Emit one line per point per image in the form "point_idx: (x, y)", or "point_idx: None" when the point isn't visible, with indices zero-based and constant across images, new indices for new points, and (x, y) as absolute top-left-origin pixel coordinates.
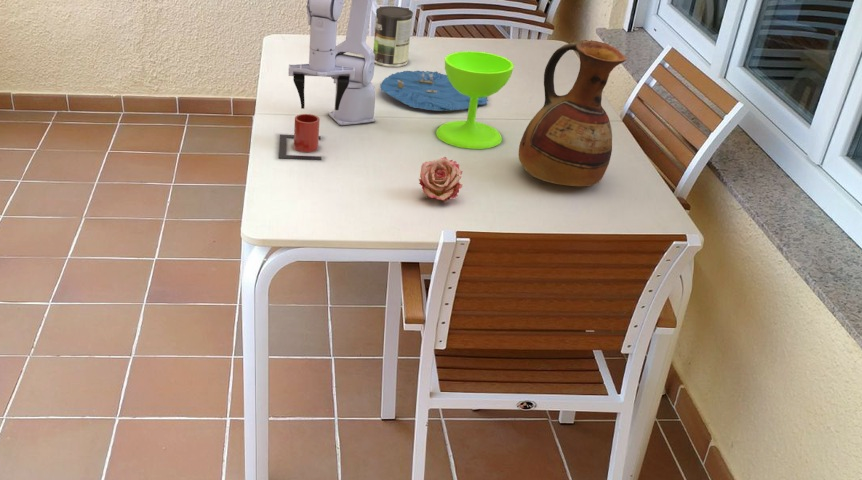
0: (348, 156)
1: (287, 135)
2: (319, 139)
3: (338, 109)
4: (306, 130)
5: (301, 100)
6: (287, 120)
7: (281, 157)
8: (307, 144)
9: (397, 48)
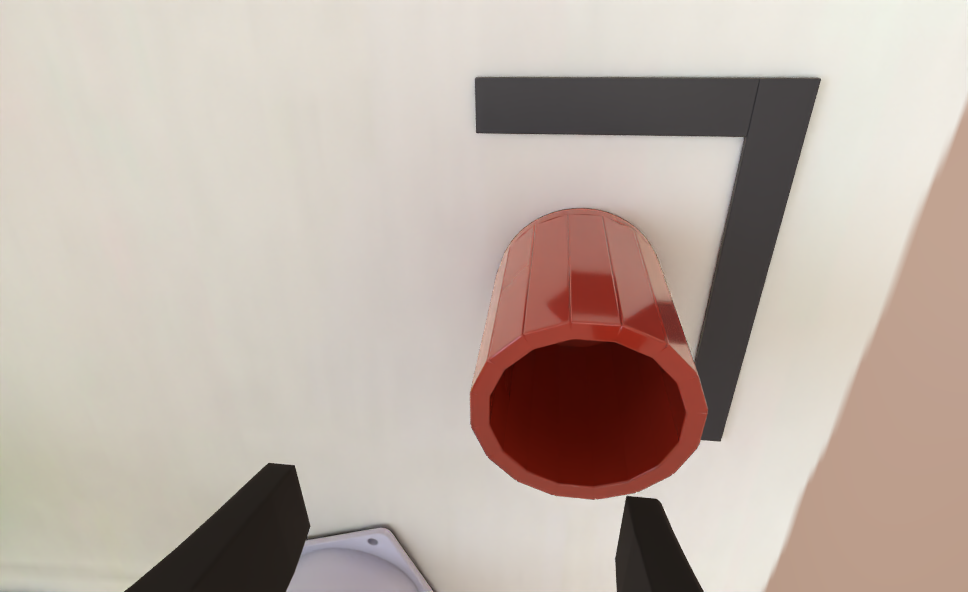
0: (296, 166)
1: None
2: None
3: (261, 470)
4: (594, 285)
5: (686, 583)
6: None
7: (796, 83)
8: (576, 230)
9: None
